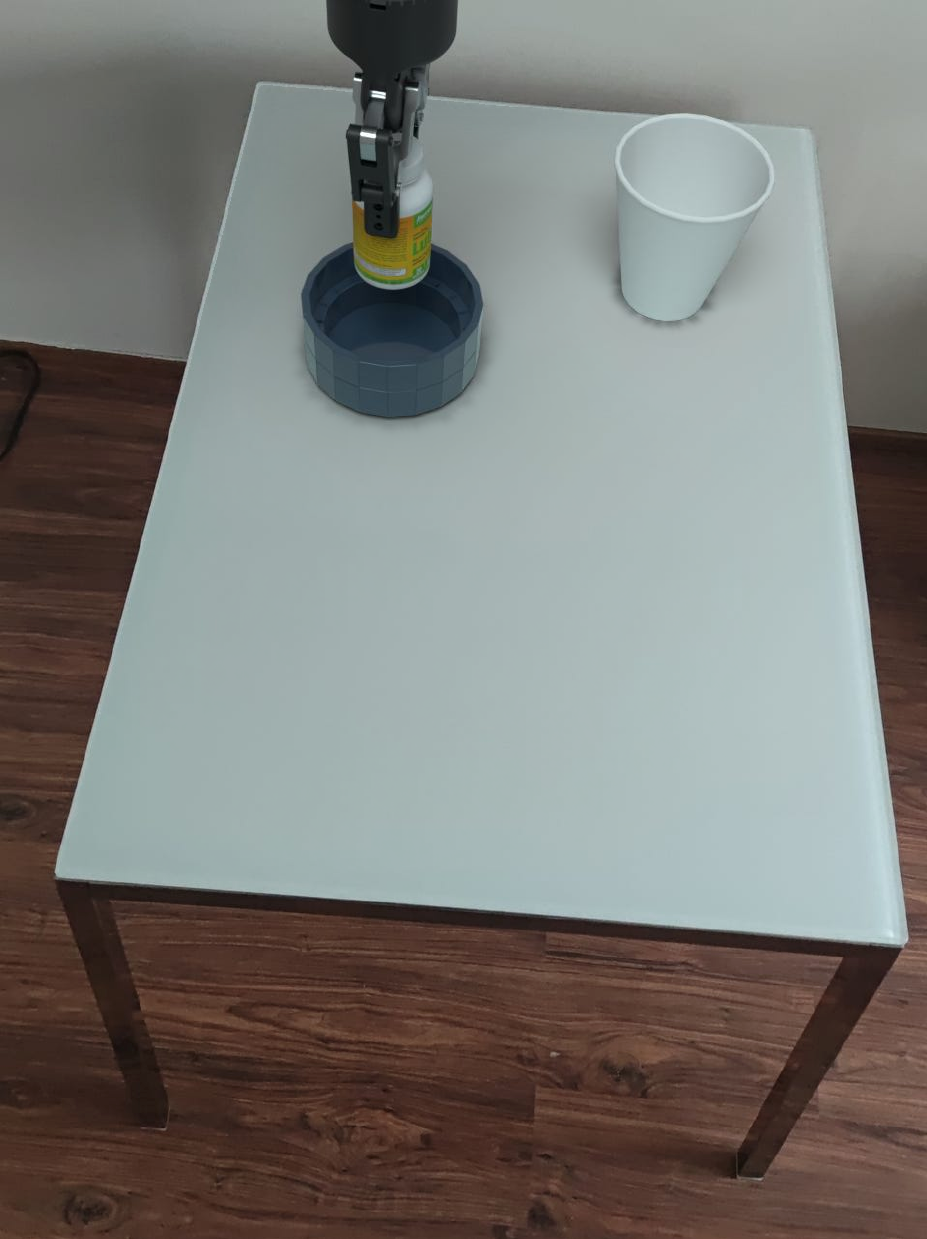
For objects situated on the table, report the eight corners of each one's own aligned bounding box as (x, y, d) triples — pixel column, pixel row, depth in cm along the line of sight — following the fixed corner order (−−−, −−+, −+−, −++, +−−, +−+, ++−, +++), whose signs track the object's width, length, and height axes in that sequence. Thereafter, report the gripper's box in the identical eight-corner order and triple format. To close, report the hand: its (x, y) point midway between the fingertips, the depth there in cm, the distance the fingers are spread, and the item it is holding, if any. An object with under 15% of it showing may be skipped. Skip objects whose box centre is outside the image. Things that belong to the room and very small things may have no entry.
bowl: (287, 405, 91) (281, 348, 86) (329, 282, 98) (325, 223, 93) (460, 435, 90) (465, 380, 85) (490, 310, 97) (496, 252, 92)
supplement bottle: (422, 297, 85) (426, 182, 76) (346, 286, 85) (342, 170, 77) (435, 245, 88) (441, 128, 79) (362, 233, 88) (359, 116, 79)
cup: (673, 367, 95) (709, 244, 84) (560, 288, 99) (581, 160, 88) (764, 293, 100) (808, 167, 89) (652, 220, 104) (682, 91, 93)
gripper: (355, -123, 71) (360, 127, 86) (293, 20, 64) (310, 267, 78) (481, -103, 71) (465, 144, 85) (434, 43, 63) (425, 287, 78)
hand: (391, 202), depth 82 cm, fingers closed on supplement bottle, 5 cm apart
